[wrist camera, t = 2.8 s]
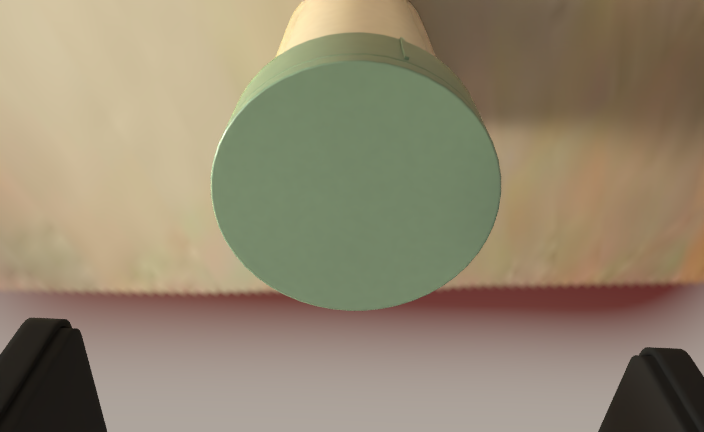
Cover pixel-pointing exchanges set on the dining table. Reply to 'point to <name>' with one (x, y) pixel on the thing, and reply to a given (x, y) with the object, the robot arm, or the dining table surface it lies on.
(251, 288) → the dining table surface
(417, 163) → the lid
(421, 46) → the jar
